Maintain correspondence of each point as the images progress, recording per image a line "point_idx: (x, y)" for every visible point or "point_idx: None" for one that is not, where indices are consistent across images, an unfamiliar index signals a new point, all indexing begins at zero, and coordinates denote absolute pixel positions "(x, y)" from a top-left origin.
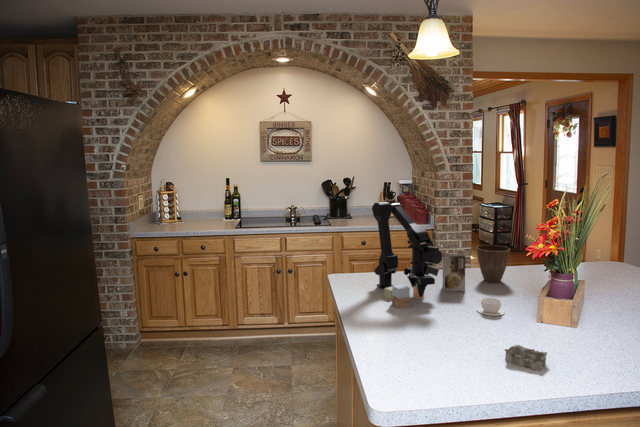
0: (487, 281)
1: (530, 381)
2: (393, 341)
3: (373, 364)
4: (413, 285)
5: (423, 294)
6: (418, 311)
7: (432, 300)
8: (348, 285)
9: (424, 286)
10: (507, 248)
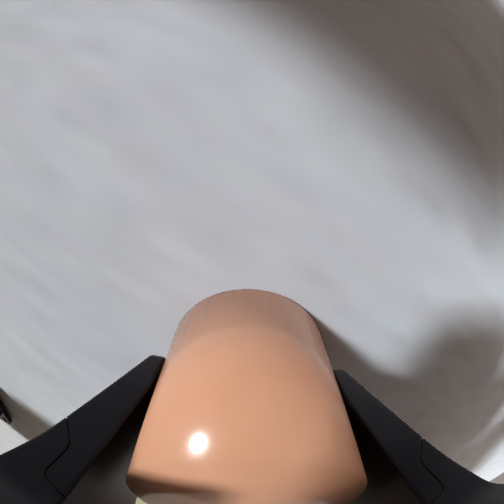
0: None
1: None
2: (493, 466)
3: (496, 474)
4: (132, 493)
5: (328, 362)
6: (471, 423)
7: (425, 248)
8: (5, 451)
9: (452, 496)
10: None
